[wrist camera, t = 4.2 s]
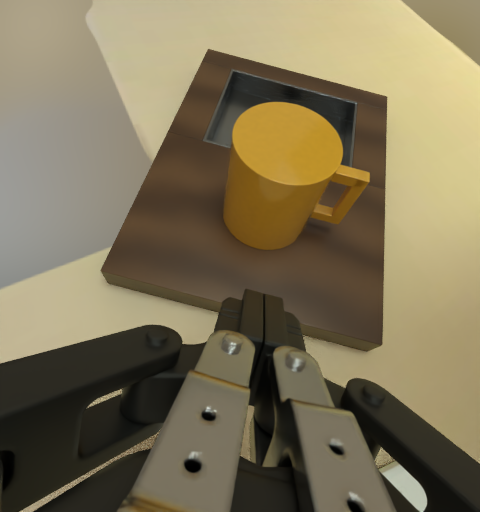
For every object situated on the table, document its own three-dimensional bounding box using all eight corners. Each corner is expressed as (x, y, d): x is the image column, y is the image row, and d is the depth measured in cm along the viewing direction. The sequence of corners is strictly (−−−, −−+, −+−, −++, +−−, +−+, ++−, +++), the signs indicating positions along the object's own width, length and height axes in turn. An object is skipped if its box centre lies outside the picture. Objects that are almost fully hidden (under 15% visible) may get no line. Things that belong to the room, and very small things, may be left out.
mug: (212, 237, 27) (219, 166, 19) (233, 171, 30) (245, 90, 23) (327, 267, 27) (378, 208, 19) (335, 198, 30) (380, 126, 23)
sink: (340, 195, 34) (351, 180, 32) (202, 158, 34) (202, 140, 32) (348, 120, 39) (357, 102, 37) (229, 88, 39) (231, 68, 37)
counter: (367, 351, 27) (382, 345, 24) (107, 283, 27) (99, 270, 24) (376, 114, 41) (387, 96, 38) (207, 69, 41) (208, 48, 38)
